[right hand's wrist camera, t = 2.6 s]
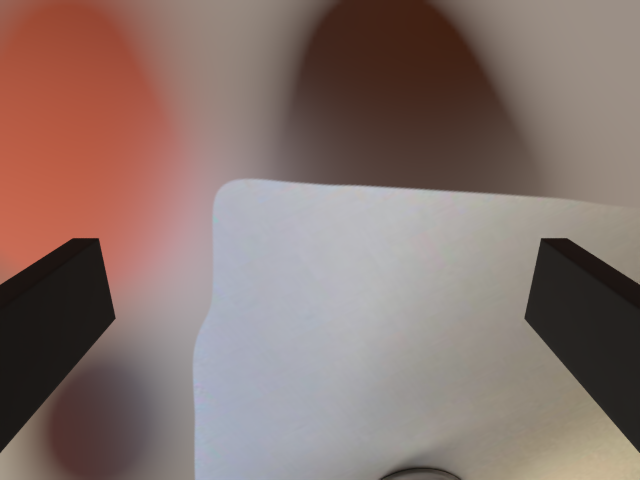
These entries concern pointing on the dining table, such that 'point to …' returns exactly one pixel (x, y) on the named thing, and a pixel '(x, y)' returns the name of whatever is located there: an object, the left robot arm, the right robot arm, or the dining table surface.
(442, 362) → the dining table surface
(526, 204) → the dining table surface
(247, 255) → the dining table surface
